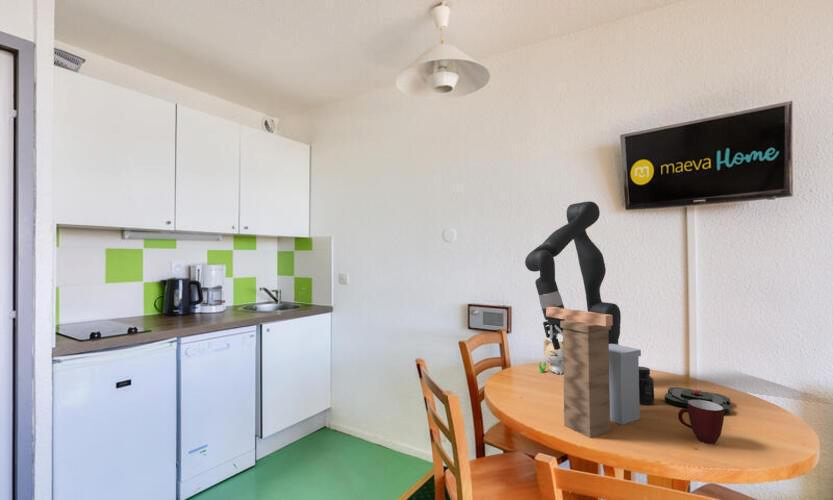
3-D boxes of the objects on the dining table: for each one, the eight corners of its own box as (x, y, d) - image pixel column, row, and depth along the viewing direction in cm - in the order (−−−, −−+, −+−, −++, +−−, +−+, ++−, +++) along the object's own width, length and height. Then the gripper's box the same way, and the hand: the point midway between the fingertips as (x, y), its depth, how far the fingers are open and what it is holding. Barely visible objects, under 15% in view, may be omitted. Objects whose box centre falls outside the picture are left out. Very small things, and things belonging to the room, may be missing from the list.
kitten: (543, 375, 165) (542, 341, 165) (535, 369, 175) (535, 336, 175) (576, 375, 165) (576, 341, 166) (567, 369, 175) (567, 336, 176)
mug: (675, 438, 107) (674, 403, 107) (680, 429, 113) (679, 395, 113) (723, 451, 100) (722, 413, 100) (725, 440, 106) (724, 404, 106)
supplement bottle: (652, 400, 136) (652, 366, 136) (655, 406, 130) (655, 371, 130) (631, 397, 139) (630, 364, 139) (632, 403, 133) (632, 369, 133)
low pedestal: (593, 413, 124) (592, 346, 125) (613, 408, 129) (611, 343, 129) (622, 425, 115) (621, 353, 116) (642, 419, 120) (640, 349, 121)
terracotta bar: (546, 316, 126) (546, 307, 126) (552, 315, 128) (552, 306, 128) (605, 326, 107) (605, 315, 107) (612, 325, 108) (612, 315, 108)
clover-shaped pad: (663, 405, 132) (662, 392, 132) (669, 391, 146) (669, 379, 146) (729, 419, 120) (729, 405, 120) (730, 403, 134) (729, 390, 134)
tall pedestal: (561, 425, 116) (560, 320, 117) (583, 418, 121) (582, 318, 121) (590, 438, 107) (588, 325, 108) (612, 431, 112) (610, 322, 112)
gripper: (573, 301, 130) (587, 348, 128) (548, 303, 143) (560, 346, 141) (556, 306, 127) (570, 354, 125) (532, 308, 141) (544, 351, 139)
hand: (565, 350), depth 133 cm, fingers open, 8 cm apart
